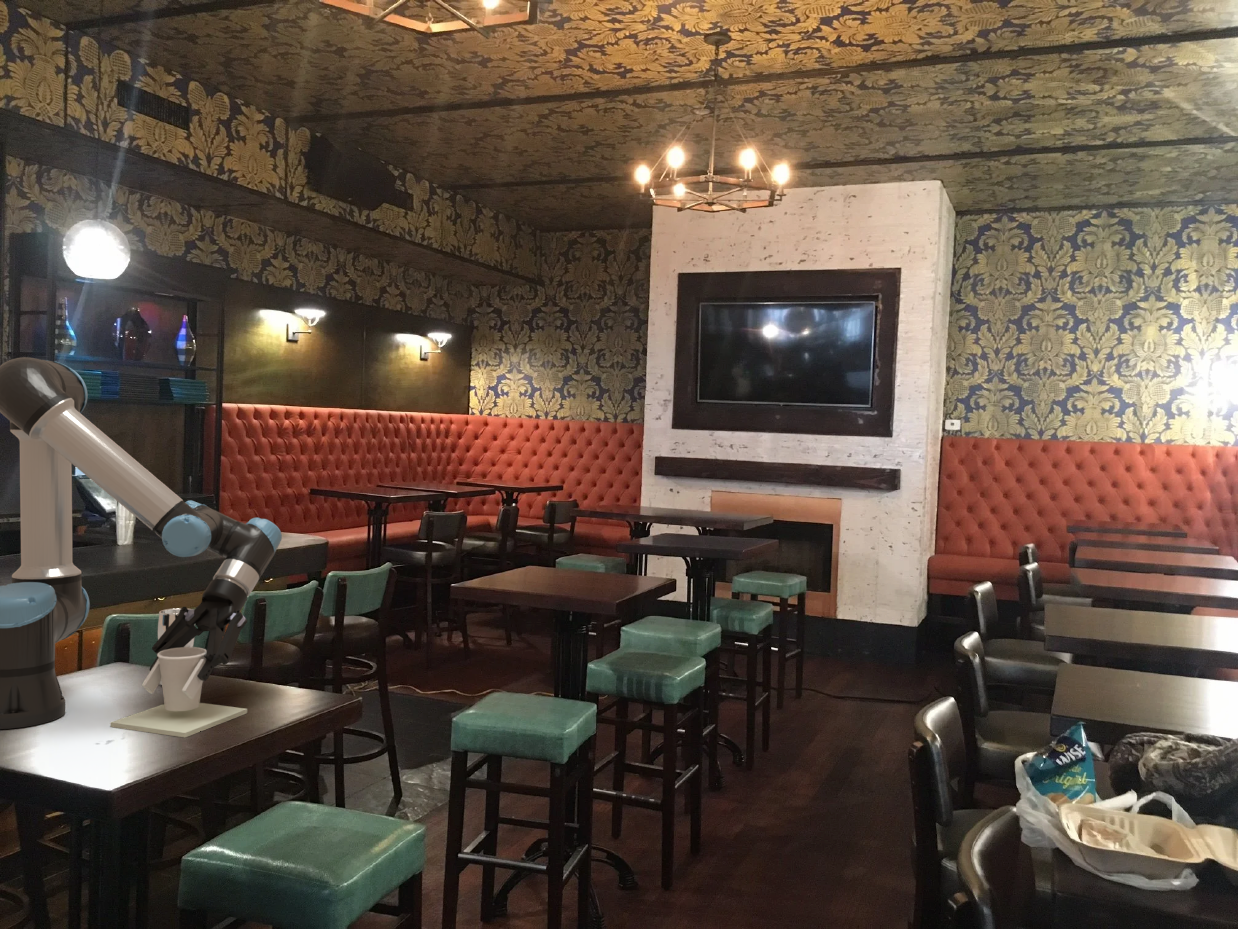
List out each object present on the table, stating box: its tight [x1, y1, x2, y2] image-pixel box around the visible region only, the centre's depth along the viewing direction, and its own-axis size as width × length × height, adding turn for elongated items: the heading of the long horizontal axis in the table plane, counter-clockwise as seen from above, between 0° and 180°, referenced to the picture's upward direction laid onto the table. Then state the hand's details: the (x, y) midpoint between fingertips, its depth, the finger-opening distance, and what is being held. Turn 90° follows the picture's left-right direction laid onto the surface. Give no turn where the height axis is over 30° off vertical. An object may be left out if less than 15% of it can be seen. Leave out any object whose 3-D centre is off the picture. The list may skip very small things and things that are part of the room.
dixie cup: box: [156, 646, 207, 711], centre depth 179 cm, size 8×8×10 cm
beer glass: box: [157, 607, 196, 686], centre depth 203 cm, size 7×7×15 cm
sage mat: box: [109, 702, 248, 738], centre depth 179 cm, size 16×16×1 cm
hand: (167, 691), depth 175 cm, fingers closed on dixie cup, 8 cm apart
